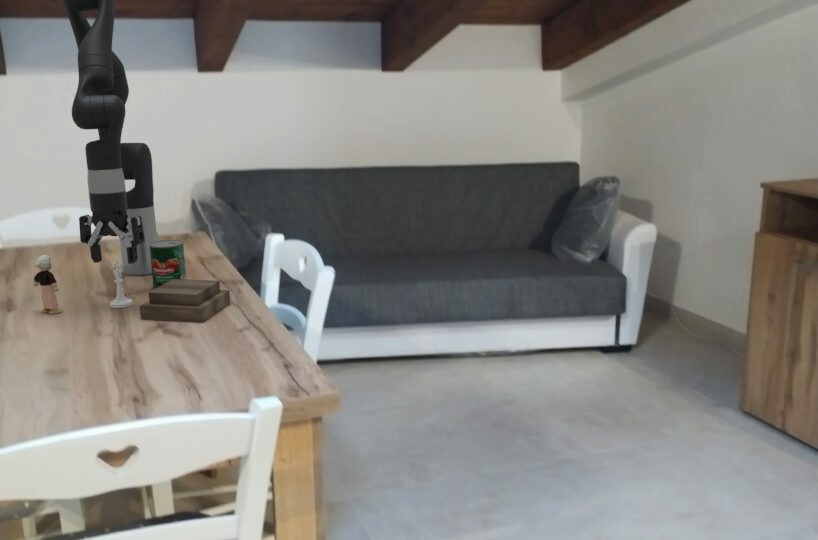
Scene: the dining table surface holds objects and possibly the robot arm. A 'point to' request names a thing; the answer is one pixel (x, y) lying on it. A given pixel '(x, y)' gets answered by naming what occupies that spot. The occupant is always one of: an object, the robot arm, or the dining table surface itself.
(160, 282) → the canned tomato
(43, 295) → the grandmother figurine
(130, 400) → the dining table surface
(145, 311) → the walnut pedestal
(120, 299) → the chess piece
